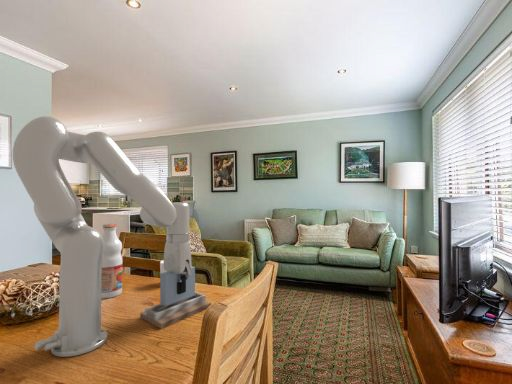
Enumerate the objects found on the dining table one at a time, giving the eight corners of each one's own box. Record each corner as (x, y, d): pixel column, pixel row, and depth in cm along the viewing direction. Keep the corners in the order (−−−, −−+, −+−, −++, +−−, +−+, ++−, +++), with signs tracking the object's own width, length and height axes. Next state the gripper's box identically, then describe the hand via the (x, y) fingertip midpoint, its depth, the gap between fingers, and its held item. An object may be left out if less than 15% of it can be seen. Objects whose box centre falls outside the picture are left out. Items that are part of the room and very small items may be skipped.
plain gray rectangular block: (165, 306, 87) (165, 275, 87) (160, 304, 88) (160, 273, 88) (195, 295, 96) (194, 267, 96) (189, 293, 98) (189, 265, 98)
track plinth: (161, 328, 80) (161, 317, 80) (140, 317, 88) (140, 306, 88) (211, 306, 96) (211, 297, 96) (189, 298, 104) (189, 289, 104)
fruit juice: (94, 293, 109) (95, 224, 109) (120, 288, 114) (120, 223, 115) (96, 301, 101) (97, 226, 101) (124, 295, 107) (124, 225, 107)
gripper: (154, 237, 94) (154, 289, 94) (183, 242, 84) (184, 301, 84) (172, 234, 100) (173, 284, 100) (202, 239, 90) (202, 294, 90)
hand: (178, 291), depth 92 cm, fingers closed on plain gray rectangular block, 3 cm apart
